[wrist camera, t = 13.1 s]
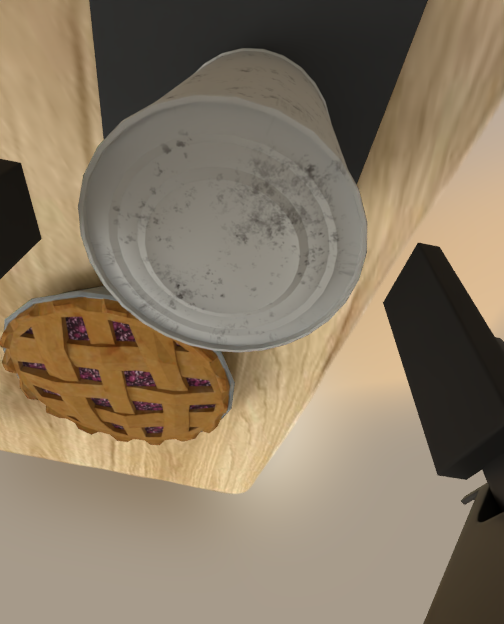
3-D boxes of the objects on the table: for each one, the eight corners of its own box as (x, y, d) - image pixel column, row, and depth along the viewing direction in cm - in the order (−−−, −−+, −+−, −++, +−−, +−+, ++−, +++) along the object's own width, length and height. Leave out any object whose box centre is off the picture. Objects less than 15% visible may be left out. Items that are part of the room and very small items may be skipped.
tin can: (327, 216, 23) (352, 352, 14) (190, 223, 25) (132, 352, 15) (337, 37, 17) (393, 76, 8) (153, 57, 18) (17, 110, 9)
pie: (76, 411, 44) (57, 449, 40) (-25, 269, 30) (-69, 307, 26) (246, 417, 42) (242, 457, 38) (225, 267, 28) (216, 308, 24)
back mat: (78, -162, 14) (71, -168, 14) (449, -66, 15) (454, -68, 15) (118, 251, 27) (115, 255, 27) (314, 288, 28) (314, 293, 28)
